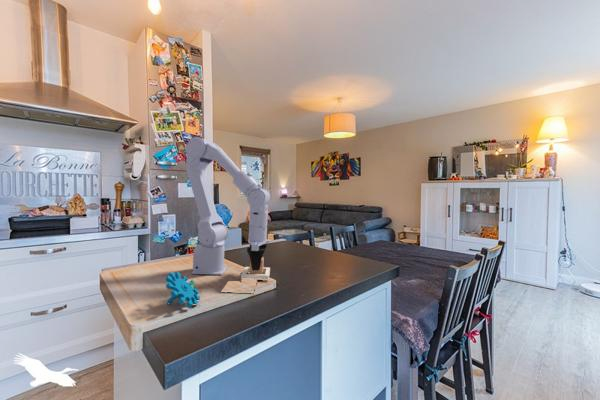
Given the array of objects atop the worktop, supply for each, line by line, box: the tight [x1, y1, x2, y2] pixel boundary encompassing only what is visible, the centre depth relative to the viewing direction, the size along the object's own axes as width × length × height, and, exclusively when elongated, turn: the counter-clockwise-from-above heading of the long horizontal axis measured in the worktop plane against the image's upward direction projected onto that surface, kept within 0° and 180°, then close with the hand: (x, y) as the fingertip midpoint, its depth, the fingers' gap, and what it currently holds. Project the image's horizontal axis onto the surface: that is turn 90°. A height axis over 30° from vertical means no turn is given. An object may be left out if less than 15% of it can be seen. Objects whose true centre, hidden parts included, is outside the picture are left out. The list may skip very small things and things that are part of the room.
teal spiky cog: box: [164, 271, 201, 308], centre depth 64 cm, size 11×6×10 cm
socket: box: [240, 266, 271, 279], centre depth 86 cm, size 8×8×2 cm
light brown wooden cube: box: [249, 256, 265, 274], centre depth 86 cm, size 4×4×4 cm
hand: (256, 267), depth 86 cm, fingers closed on light brown wooden cube, 4 cm apart
